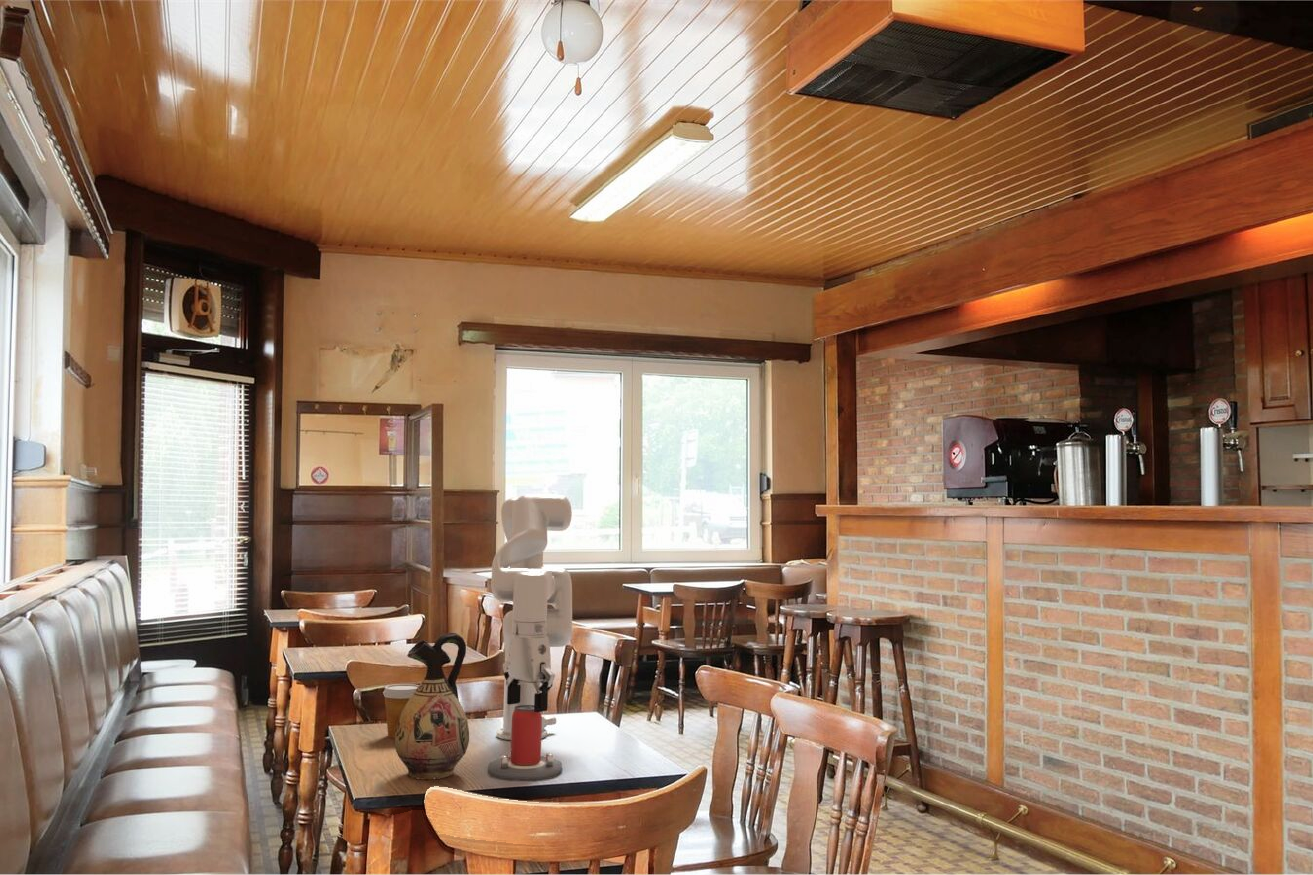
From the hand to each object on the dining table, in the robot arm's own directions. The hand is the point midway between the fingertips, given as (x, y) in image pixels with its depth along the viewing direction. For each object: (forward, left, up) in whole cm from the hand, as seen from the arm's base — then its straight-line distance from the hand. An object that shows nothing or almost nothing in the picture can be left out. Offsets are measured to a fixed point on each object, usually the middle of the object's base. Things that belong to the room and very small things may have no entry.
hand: (526, 707), depth 225 cm
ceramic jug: (+17, -9, -14) cm, 24 cm away
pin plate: (0, +1, -14) cm, 14 cm away
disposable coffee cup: (+3, -47, -14) cm, 49 cm away
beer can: (0, 0, -12) cm, 12 cm away
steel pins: (+2, +1, -12) cm, 12 cm away
